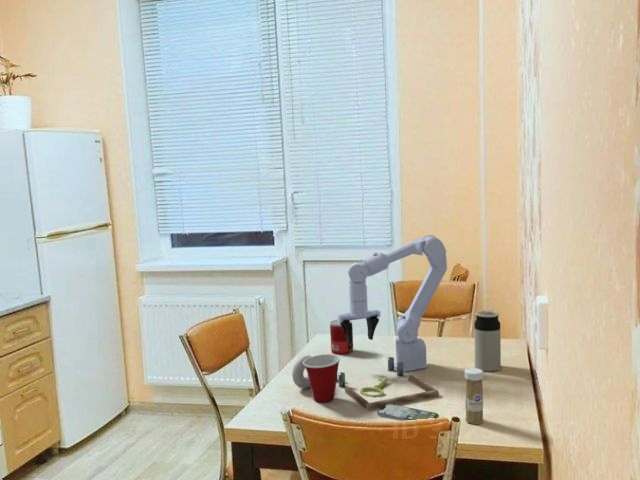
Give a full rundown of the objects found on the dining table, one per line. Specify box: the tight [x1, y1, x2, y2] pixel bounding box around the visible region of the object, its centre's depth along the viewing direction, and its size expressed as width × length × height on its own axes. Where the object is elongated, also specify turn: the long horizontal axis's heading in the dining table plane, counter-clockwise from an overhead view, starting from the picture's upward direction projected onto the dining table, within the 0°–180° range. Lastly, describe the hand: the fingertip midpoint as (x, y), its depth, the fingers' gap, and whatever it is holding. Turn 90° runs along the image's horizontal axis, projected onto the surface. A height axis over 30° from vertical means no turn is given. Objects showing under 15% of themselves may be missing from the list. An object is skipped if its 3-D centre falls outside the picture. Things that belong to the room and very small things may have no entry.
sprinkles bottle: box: [464, 367, 484, 425], centre depth 155 cm, size 5×5×14 cm
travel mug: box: [473, 310, 502, 372], centre depth 195 cm, size 8×8×18 cm
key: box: [359, 377, 389, 398], centre depth 182 cm, size 7×12×2 cm, turn 167°
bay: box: [344, 374, 439, 411], centre depth 177 cm, size 22×15×2 cm
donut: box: [291, 354, 313, 389], centre depth 185 cm, size 10×4×10 cm, turn 135°
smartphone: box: [376, 404, 439, 421], centre depth 162 cm, size 7×1×15 cm
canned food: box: [329, 319, 354, 356], centre depth 219 cm, size 8×8×11 cm
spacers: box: [337, 356, 404, 388], centre depth 191 cm, size 22×8×4 cm, turn 111°
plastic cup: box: [303, 353, 341, 404], centre depth 175 cm, size 11×11×12 cm
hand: (359, 340), depth 199 cm, fingers open, 7 cm apart
